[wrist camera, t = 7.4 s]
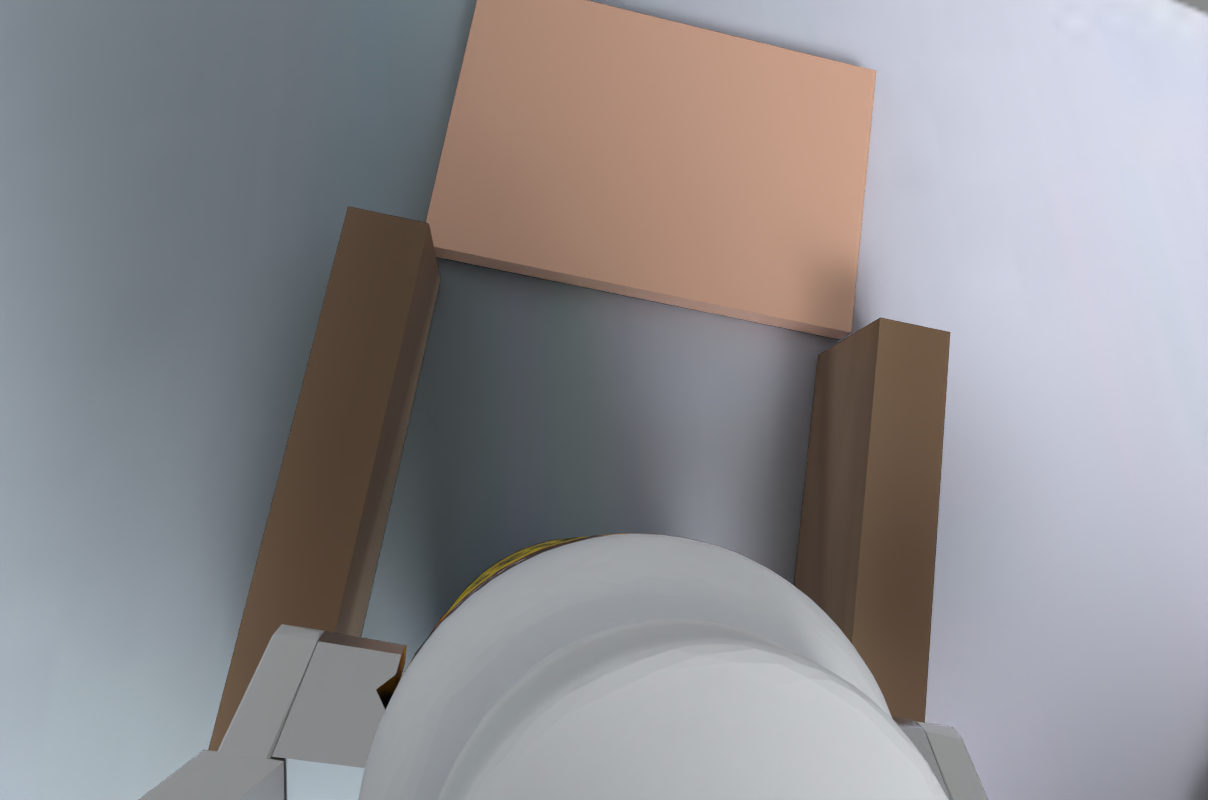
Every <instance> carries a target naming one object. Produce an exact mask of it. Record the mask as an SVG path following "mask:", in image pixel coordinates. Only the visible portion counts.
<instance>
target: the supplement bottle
mask: <svg viewBox="0 0 1208 800" xmlns="http://www.w3.org/2000/svg"><path fill="white" fill-rule="evenodd" d="M358 800H949V799H948V798H947V796H946V794H945V792H944V791H943V789H942V787H941V785H940V784H939V782H938V780H937V778H936V777H935V775H934V773H933V771H932V770H931V768H930V766H929V765H928V763H927V761H926V760H925V759H924V757H923V756H922V754H921V753H920V751H919V750H918V749H917V748H916V746H915V745H914V744H913V743H912V742H911V740H910V739H909V738H908V737H907V735H906V734H905V733H904V732H903V731H902V729H901V728H900V727H899V726H898V724H897V723H896V722H895V721H894V720H893V719H892V716H891V714H890V711H889V709H888V706H887V704H886V701H885V699H884V696H883V694H882V692H881V690H880V688H879V686H878V684H877V682H876V680H875V678H874V676H873V675H872V673H871V672H870V670H869V668H868V667H867V665H866V664H865V662H864V661H863V659H862V658H861V656H860V655H859V653H858V652H857V650H856V649H855V647H854V646H853V645H852V643H851V642H850V641H849V640H848V638H847V637H846V636H845V635H844V633H843V632H842V631H841V629H840V628H839V627H838V626H837V625H836V624H835V623H834V622H833V620H832V619H831V618H830V617H829V616H828V615H827V614H826V613H825V612H824V611H823V610H822V609H821V608H820V607H819V606H818V605H817V604H816V603H815V602H814V601H813V600H811V599H810V598H809V597H808V596H807V595H805V594H804V593H803V592H801V591H800V590H799V589H798V588H796V587H795V586H794V585H792V584H791V583H790V582H788V581H787V580H785V579H784V578H782V577H781V576H779V575H778V574H776V573H775V572H773V571H772V570H770V569H768V568H766V567H764V566H763V565H761V564H759V563H757V562H755V561H753V560H751V559H749V558H747V557H745V556H743V555H740V554H738V553H736V552H733V551H730V550H728V549H725V548H722V547H719V546H716V545H712V544H708V543H704V542H700V541H696V540H692V539H688V538H682V537H675V536H668V535H658V534H637V533H620V534H611V535H599V536H591V537H576V538H568V539H557V540H550V541H546V542H542V543H539V544H536V545H533V546H530V547H527V548H524V549H522V550H519V551H517V552H515V553H513V554H511V555H509V556H507V557H505V558H504V559H502V560H500V561H498V562H497V563H495V564H494V565H493V566H491V567H490V568H488V569H487V570H485V571H484V572H483V573H482V574H481V575H480V576H479V577H478V578H476V579H475V580H474V581H473V582H472V583H471V584H470V585H469V586H468V587H467V588H466V589H465V590H464V592H463V593H462V594H461V595H460V596H459V598H458V599H457V600H456V601H455V603H454V604H453V605H452V607H451V608H450V609H449V610H448V612H447V613H446V614H445V615H444V616H443V617H442V618H441V619H440V621H439V623H438V624H437V625H436V626H435V628H434V629H433V631H432V632H431V634H430V635H429V637H428V638H427V639H426V640H425V642H424V643H423V644H422V646H421V647H420V648H419V649H418V651H417V652H416V653H415V655H414V657H413V659H412V661H411V663H410V665H409V666H408V668H407V669H406V671H405V672H404V674H403V675H402V677H401V679H400V681H399V683H398V685H397V687H396V689H395V691H394V693H393V695H392V697H391V699H390V701H389V704H388V706H387V708H386V710H385V712H384V715H383V717H382V719H381V721H380V724H379V726H378V729H377V732H376V734H375V737H374V740H373V743H372V746H371V749H370V752H369V755H368V759H367V762H366V766H365V770H364V774H363V777H362V782H361V788H360V793H359V799H358Z"/></svg>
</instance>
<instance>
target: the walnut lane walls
mask: <svg viewBox="0 0 1208 800" xmlns="http://www.w3.org/2000/svg"><path fill="white" fill-rule="evenodd" d="M440 280H441V278H440V273H439V268H438V264H437V259H436V254H435V249H434V245H433V240H432V235H431V230H430V226H429V223H425V222H420V221H416V220H411V219H406V218H401V217H397V216H392V215H387V214H382V213H377V212H373V211H368V210H363V209H358V208H353V207H349V206H348V208H347V212H346V216H345V220H344V224H343V228H342V232H341V236H340V240H339V243H338V247H337V251H336V255H335V259H334V263H333V267H332V271H331V275H330V279H329V282H328V286H327V290H326V294H325V298H324V302H323V306H322V310H321V314H320V317H319V321H318V325H317V329H316V333H315V337H314V341H313V345H312V349H311V352H310V356H309V360H308V364H307V368H306V372H305V376H304V380H303V384H302V388H301V391H300V395H299V399H298V403H297V407H296V411H295V415H294V419H293V423H292V426H291V430H290V434H289V438H288V442H287V446H286V450H285V454H284V458H283V461H282V465H281V469H280V473H279V477H278V481H277V485H276V489H275V493H274V496H273V500H272V504H271V508H270V512H269V516H268V520H267V524H266V528H265V532H264V535H263V539H262V543H261V547H260V551H259V555H258V559H257V563H256V567H255V570H254V574H253V578H252V582H251V586H250V590H249V594H248V598H247V602H246V605H245V609H244V613H243V617H242V621H241V625H240V629H239V633H238V637H237V641H236V644H235V648H234V652H233V656H232V660H231V664H230V668H229V672H228V676H227V679H226V683H225V687H224V691H223V695H222V699H221V703H220V707H219V711H218V714H217V718H216V722H215V726H214V730H213V734H212V738H211V742H210V746H209V750H210V751H218V749H219V747H220V745H221V743H222V740H223V738H224V736H225V734H226V732H227V730H228V728H229V726H230V724H231V721H232V719H233V717H234V715H235V713H236V711H237V709H238V707H239V705H240V703H241V700H242V698H243V696H244V694H245V692H246V690H247V688H248V686H249V684H250V681H251V679H252V677H253V675H254V673H255V671H256V669H257V667H258V665H259V662H260V660H261V658H262V656H263V654H264V652H265V650H266V648H267V646H268V644H269V641H270V639H271V637H272V636H273V634H274V633H275V632H276V631H277V629H278V628H279V627H280V626H281V624H284V625H291V626H297V627H304V628H310V629H316V630H323V631H327V632H333V633H339V634H344V635H350V636H356V637H361V635H362V630H363V626H364V621H365V617H366V612H367V608H368V603H369V599H370V594H371V590H372V585H373V581H374V576H375V572H376V567H377V563H378V559H379V554H380V550H381V545H382V541H383V536H384V532H385V527H386V523H387V518H388V514H389V509H390V505H391V500H392V496H393V491H394V487H395V482H396V478H397V473H398V469H399V464H400V460H401V455H402V451H403V446H404V442H405V437H406V433H407V428H408V424H409V419H410V415H411V410H412V406H413V401H414V397H415V392H416V388H417V383H418V379H419V374H420V370H421V366H422V361H423V357H424V352H425V348H426V343H427V339H428V334H429V330H430V325H431V321H432V316H433V312H434V307H435V303H436V298H437V294H438V289H439V285H440ZM949 343H950V332H947V331H942V330H937V329H933V328H928V327H923V326H918V325H913V324H909V323H904V322H899V321H894V320H889V319H885V318H879V319H877V320H875V321H874V322H872V323H870V324H869V325H867V326H866V327H864V328H862V329H861V330H859V331H857V332H856V333H854V334H852V335H851V336H849V337H847V338H846V339H844V340H842V341H841V342H839V343H837V344H836V345H834V346H833V347H831V348H829V349H828V350H826V351H824V352H823V353H821V354H819V355H818V361H817V370H816V380H815V390H814V399H813V409H812V418H811V428H810V437H809V447H808V456H807V466H806V475H805V485H804V494H803V504H802V514H801V523H800V533H799V542H798V552H797V561H796V571H795V580H794V586H795V587H796V588H798V589H799V590H800V591H801V592H803V593H804V594H805V595H807V596H808V597H809V598H810V599H811V600H813V601H814V602H815V603H816V604H817V605H818V606H819V607H820V608H821V609H822V610H823V611H824V612H825V613H826V614H827V615H828V616H829V617H830V618H831V619H832V620H833V622H834V623H835V624H836V625H837V626H838V627H839V628H840V629H841V631H842V632H843V633H844V635H845V636H846V637H847V638H848V640H849V641H850V642H851V643H852V645H853V646H854V647H855V649H856V650H857V652H858V653H859V655H860V656H861V658H862V659H863V661H864V662H865V664H866V665H867V667H868V668H869V670H870V672H871V673H872V675H873V676H874V678H875V680H876V682H877V684H878V686H879V688H880V690H881V692H882V694H883V696H884V699H885V701H886V704H887V706H888V709H889V711H890V714H891V716H892V717H896V718H903V719H910V720H912V721H915V722H923V723H925V708H926V693H927V677H928V662H929V647H930V632H931V617H932V601H933V586H934V571H935V556H936V541H937V525H938V510H939V495H940V480H941V465H942V449H943V434H944V419H945V404H946V389H947V373H948V358H949Z"/></svg>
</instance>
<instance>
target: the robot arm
mask: <svg viewBox="0 0 1208 800" xmlns="http://www.w3.org/2000/svg"><path fill="white" fill-rule="evenodd" d="M406 646H407V645H402V644H396V643H390V642H385V641H379V640H373V639H367V638H362V637H356V636H350V635H344V634H339V633H333V632H327V631H323V630H316V629H310V628H304V627H297V626H291V625H284V624H281V626H280V627H279V628H278V629H277V631H276V632H275V633H274V634H273V636H272V637H271V639H270V641H269V644H268V646H267V648H266V650H265V652H264V654H263V656H262V658H261V660H260V662H259V665H258V667H257V669H256V671H255V673H254V675H253V677H252V679H251V681H250V684H249V686H248V688H247V690H246V692H245V694H244V696H243V698H242V700H241V703H240V705H239V707H238V709H237V711H236V713H235V715H234V717H233V719H232V721H231V724H230V726H229V728H228V730H227V732H226V734H225V736H224V738H223V740H222V743H221V745H220V747H219V749H218V751H210V750H203V751H202V752H200V753H199V754H198V755H196V756H195V757H194V758H192V759H191V760H190V761H188V762H187V763H186V764H185V765H183V766H182V767H181V768H179V769H178V770H177V771H175V772H174V773H173V774H171V775H170V776H169V777H167V778H166V779H165V780H164V781H162V782H161V783H160V784H158V785H157V786H156V787H154V788H153V789H152V790H150V791H149V792H148V793H146V794H145V795H144V796H142V797H141V798H140V799H139V800H358V799H359V793H360V788H361V782H362V777H363V774H364V770H365V766H366V762H367V759H368V755H369V752H370V749H371V746H372V743H373V740H374V737H375V734H376V732H377V729H378V726H379V724H380V721H381V719H382V717H383V715H384V712H385V710H386V708H387V706H388V704H389V701H390V699H391V697H392V695H393V693H394V691H395V689H396V687H397V685H398V683H399V681H400V679H401V676H402V672H403V668H404V665H405V658H406ZM892 719H893V720H894V721H895V722H896V723H897V724H898V726H899V727H900V728H901V729H902V731H903V732H904V733H905V734H906V735H907V737H908V738H909V739H910V740H911V742H912V743H913V744H914V745H915V746H916V748H917V749H918V750H919V751H920V753H921V754H922V756H923V757H924V759H925V760H926V761H927V763H928V765H929V766H930V768H931V770H932V771H933V773H934V775H935V777H936V778H937V780H938V782H939V784H940V785H941V787H942V789H943V791H944V792H945V794H946V796H947V798H948V799H949V800H988V798H987V796H986V794H985V791H984V789H983V787H982V784H981V782H980V780H979V777H978V775H977V773H976V770H975V768H974V766H973V763H972V761H971V759H970V756H969V754H968V752H967V749H966V747H965V744H964V742H963V740H962V738H961V736H960V735H959V734H958V733H957V731H956V730H955V729H954V728H953V727H949V726H945V725H938V724H930V723H923V722H915V721H912V720H910V719H903V718H896V717H892Z"/></svg>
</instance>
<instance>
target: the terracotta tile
mask: <svg viewBox="0 0 1208 800" xmlns="http://www.w3.org/2000/svg"><path fill="white" fill-rule="evenodd" d="M875 79H876V71H875V70H871V69H867V68H863V67H859V66H855V65H850V64H846V63H842V62H838V61H834V60H830V59H826V58H822V57H818V56H814V55H809V54H805V53H801V52H797V51H793V50H789V49H785V48H781V47H777V46H773V45H769V44H764V43H760V42H756V41H752V40H748V39H744V38H740V37H736V36H732V35H728V34H723V33H719V32H715V31H711V30H707V29H703V28H699V27H695V26H691V25H687V24H682V23H678V22H674V21H670V20H666V19H662V18H658V17H654V16H650V15H646V14H642V13H637V12H633V11H629V10H625V9H621V8H617V7H613V6H609V5H605V4H601V3H596V2H592V1H588V0H477V3H476V7H475V11H474V16H473V20H472V24H471V28H470V33H469V37H468V41H467V46H466V50H465V54H464V59H463V63H462V67H461V72H460V76H459V80H458V85H457V89H456V93H455V98H454V102H453V106H452V111H451V115H450V119H449V124H448V128H447V132H446V136H445V141H444V145H443V149H442V154H441V158H440V162H439V167H438V171H437V175H436V180H435V184H434V188H433V193H432V197H431V201H430V206H429V210H428V214H427V219H426V223H429V226H430V230H431V235H432V240H433V245H434V249H435V254H436V257H439V258H444V259H449V260H454V261H459V262H464V263H469V264H474V265H478V266H483V267H488V268H493V269H498V270H503V271H508V272H513V273H518V274H522V275H527V276H532V277H537V278H542V279H547V280H552V281H557V282H562V283H566V284H571V285H576V286H581V287H586V288H591V289H596V290H601V291H606V292H610V293H615V294H620V295H625V296H630V297H635V298H640V299H645V300H649V301H654V302H659V303H664V304H669V305H674V306H679V307H684V308H689V309H693V310H698V311H703V312H708V313H713V314H718V315H723V316H728V317H733V318H737V319H742V320H747V321H752V322H757V323H762V324H767V325H772V326H777V327H781V328H786V329H791V330H796V331H801V332H806V333H811V334H816V335H821V336H825V337H830V338H835V339H841V338H843V337H845V336H846V335H848V334H850V333H851V330H852V320H853V309H854V299H855V288H856V278H857V267H858V257H859V246H860V236H861V226H862V215H863V205H864V194H865V184H866V173H867V163H868V152H869V142H870V131H871V121H872V110H873V100H874V90H875Z"/></svg>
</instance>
